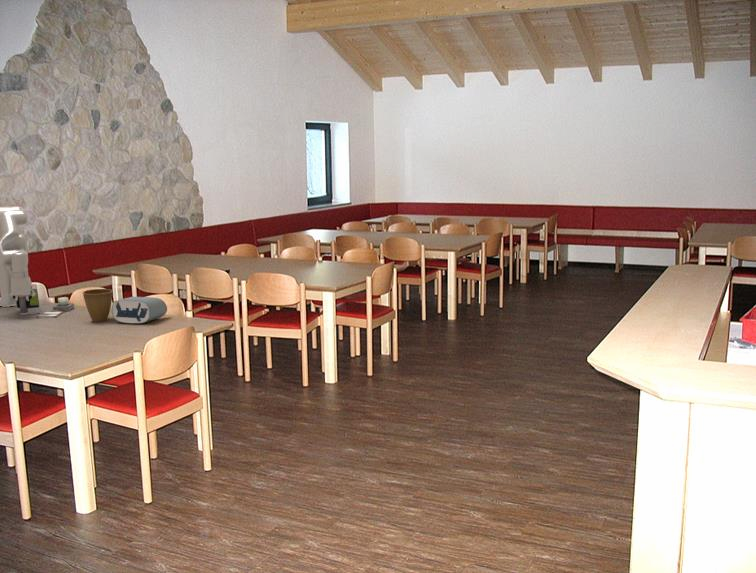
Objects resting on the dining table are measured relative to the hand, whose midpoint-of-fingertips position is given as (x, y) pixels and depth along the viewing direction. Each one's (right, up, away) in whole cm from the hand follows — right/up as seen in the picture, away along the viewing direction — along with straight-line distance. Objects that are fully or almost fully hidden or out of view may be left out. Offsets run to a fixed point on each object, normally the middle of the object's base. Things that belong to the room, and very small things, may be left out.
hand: (23, 307), depth 417 cm
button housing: (+14, -2, +19) cm, 24 cm away
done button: (+14, +1, +19) cm, 23 cm away
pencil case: (+68, -7, -11) cm, 69 cm away
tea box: (-3, -4, +15) cm, 16 cm away
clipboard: (+12, -5, +6) cm, 14 cm away
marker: (0, -3, +1) cm, 3 cm away
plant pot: (+46, -7, -10) cm, 47 cm away
